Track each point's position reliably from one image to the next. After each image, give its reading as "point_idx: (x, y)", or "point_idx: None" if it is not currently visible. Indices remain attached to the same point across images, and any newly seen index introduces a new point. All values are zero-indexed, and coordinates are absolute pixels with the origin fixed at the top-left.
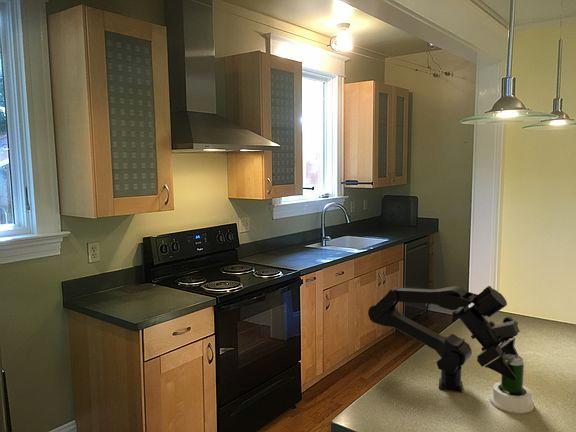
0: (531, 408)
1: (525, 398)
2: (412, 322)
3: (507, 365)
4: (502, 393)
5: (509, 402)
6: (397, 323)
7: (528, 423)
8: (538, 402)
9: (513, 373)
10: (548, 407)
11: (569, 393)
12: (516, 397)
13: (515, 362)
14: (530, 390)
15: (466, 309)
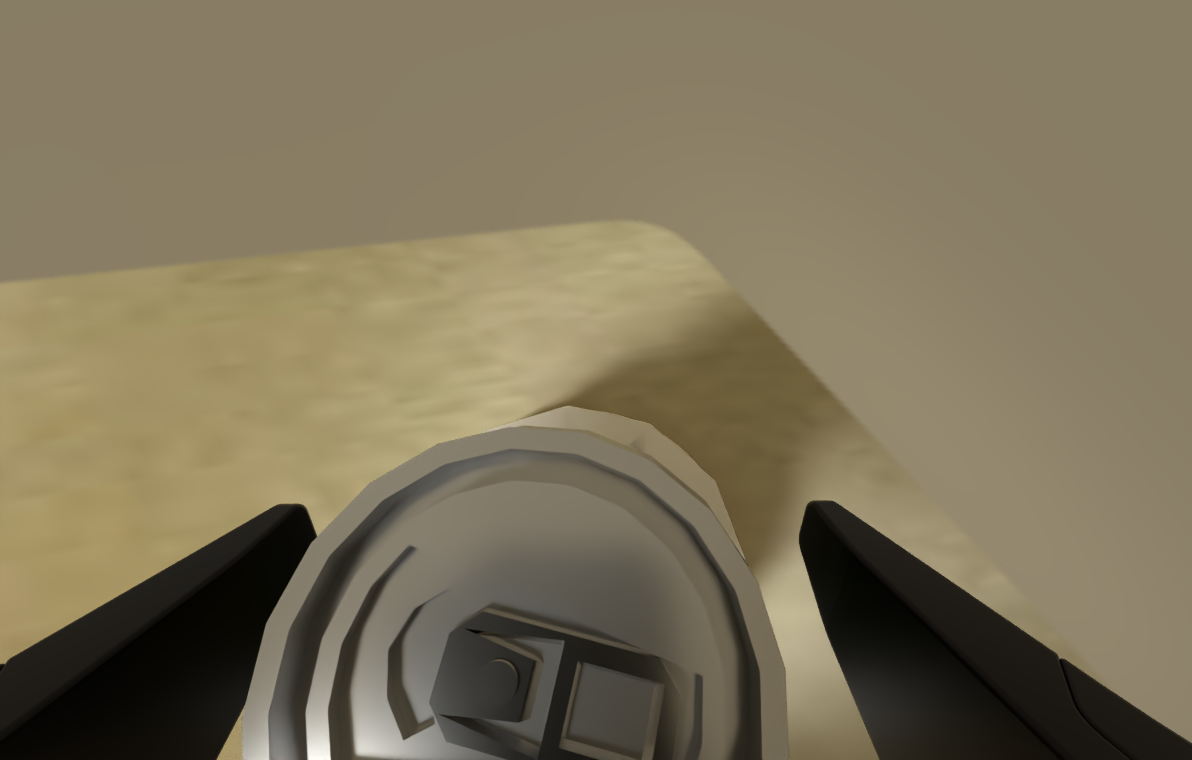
0: (623, 416)
1: (663, 439)
2: None
3: (1076, 709)
4: None
5: None
6: None
7: (788, 408)
8: (449, 408)
9: (857, 546)
10: (488, 345)
11: (209, 271)
12: (713, 505)
13: (725, 567)
14: (492, 430)
15: None
